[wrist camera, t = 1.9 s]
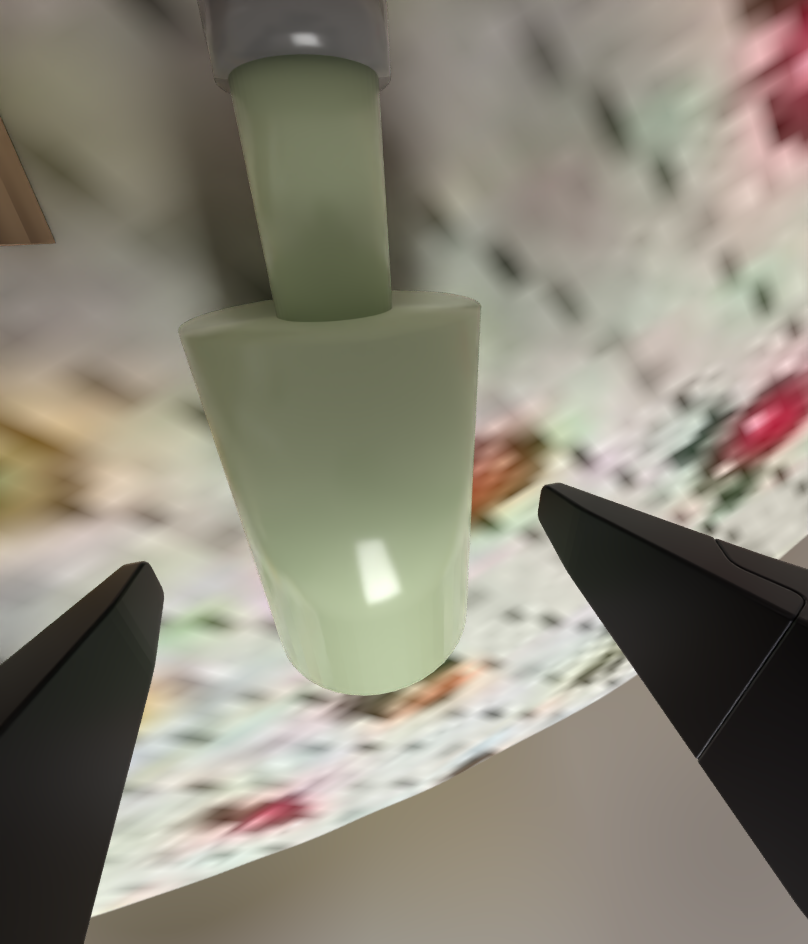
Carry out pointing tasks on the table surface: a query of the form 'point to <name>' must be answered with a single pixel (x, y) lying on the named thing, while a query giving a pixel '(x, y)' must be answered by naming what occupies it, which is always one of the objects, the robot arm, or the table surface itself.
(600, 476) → the table surface
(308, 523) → the bottle
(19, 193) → the rest
